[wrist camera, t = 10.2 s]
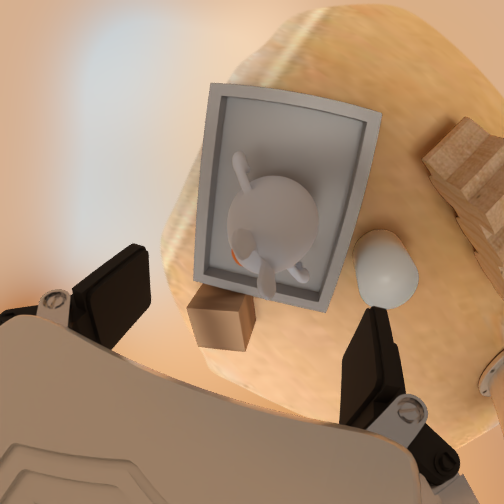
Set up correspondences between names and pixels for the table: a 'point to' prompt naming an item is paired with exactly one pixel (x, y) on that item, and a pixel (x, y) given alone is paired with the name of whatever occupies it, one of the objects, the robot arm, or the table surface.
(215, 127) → the tray
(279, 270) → the toy figure
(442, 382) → the table surface
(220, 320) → the walnut cube
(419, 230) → the table surface
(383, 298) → the pale grey egg shape
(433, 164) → the stepped wooden block
